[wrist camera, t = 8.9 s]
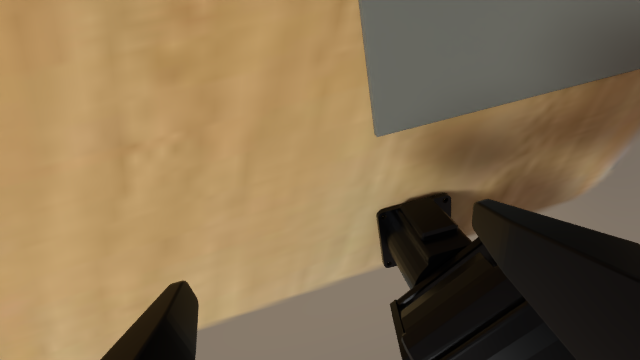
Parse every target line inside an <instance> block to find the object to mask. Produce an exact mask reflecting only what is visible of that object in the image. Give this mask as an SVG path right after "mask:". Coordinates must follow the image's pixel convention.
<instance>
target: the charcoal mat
mask: <svg viewBox="0 0 640 360" xmlns="http://www.w3.org/2000/svg"><path fill="white" fill-rule="evenodd" d="M359 8H360V16H361V25H362V33H363V41H364V50H365V58H366V66H367V75H368V83H369V91H370V100H371V108H372V116H373V125H374V133H375V135H376V136H377V137H379V136H383V135H387V134H391V133H395V132H399V131H403V130H406V129H410V128H414V127H418V126H422V125H426V124H430V123H433V122H437V121H441V120H445V119H449V118H453V117H456V116H460V115H464V114H468V113H472V112H476V111H480V110H483V109H487V108H491V107H495V106H499V105H503V104H507V103H510V102H514V101H518V100H522V99H526V98H530V97H534V96H537V95H541V94H545V93H549V92H553V91H557V90H561V89H564V88H568V87H572V86H576V85H580V84H584V83H588V82H591V81H595V80H599V79H603V78H607V77H611V76H615V75H618V74H622V73H626V72H630V71H634V70H638V69H640V0H359Z"/></svg>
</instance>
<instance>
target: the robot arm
mask: <svg viewBox="0 0 640 360" xmlns="http://www.w3.org/2000/svg"><path fill="white" fill-rule="evenodd" d="M444 198H445V200H443V199H444ZM382 215H384V216H383V217H381V216H382ZM377 224H378V231H379V238H380V246H381V253H382V260H383V264H384V266H385V267H386V268H390V267H394V266H398V268H399V269H400V271H401V273H402V275H403V277H404V278H405V281H406V282H407V284H408V286H409V287H410V290H409V291H408V292H407V293H406V294H404V295H403V296H402V297H400V298H399V299H398V300H394V301H393V302H392V303H391V304H390V307H391V311H392V317H393V321H394V325H395V330H396V335H397V339H398V343H399V347H400V352H401V357H402V360H640V244H638V243H635V242H632V241H628V240H625V239H622V238H618V237H615V236H612V235H608V234H605V233H601V232H598V231H594V230H591V229H588V228H585V227H581V226H578V225H574V224H571V223H568V222H564V221H561V220H558V219H554V218H551V217H548V216H544V215H541V214H537V213H534V212H531V211H527V210H524V209H521V208H517V207H514V206H510V205H507V204H504V203H500V202H497V201H494V200H490V199H485V200H481V201H477V202H475V203H474V205H473V216H472V226H473V229H474V231H475V232H476V234H477V235H478V238H477V239H476V240H474V241H473V242H472V241H471V240H470V239H469V238H468V237H467V236H466V235H465V234H464V233H463V232H462V231H461V230H460V229H459V228H458V225H457V224H456V223H455V222H454V221H453V220H452V219H451V197H450V196H449V195H448V194H447V193H442V194H438V195H435V196H431V197H427V198H423V199H419V200H416V201H412V202H408V203H405V204H401V205H398V206H394V207H390V208H387V209H383V210H380V211H379V212H378V213H377ZM388 262H389V263H388ZM197 323H198V300H197V297H196V296H195V294H194V292H193V291H192V289H191V288H190V286H189V284H188V283H187V282H186V281H180V282H176V283H172V284H170V285H169V286H168V287H167V288H166V289H165V290H164V291H163V292H162V294H161V295H160V296H159V297H158V298H157V299H156V300H155V301H154V302H153V303H152V304H151V305H150V307H149V308H148V309H147V310H146V311H145V312H144V313H143V314H142V315H141V316H140V317H139V318H138V320H137V321H136V322H135V323H134V324H133V325H132V326H131V327H130V328H129V329H128V330H127V331H126V333H125V334H124V335H123V336H122V337H121V338H120V339H119V340H118V341H117V342H116V343H115V344H114V346H113V347H112V348H111V349H110V350H109V351H108V352H107V353H106V354H105V355H104V356H103V357H102V359H101V360H195V355H196V339H197Z"/></svg>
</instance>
